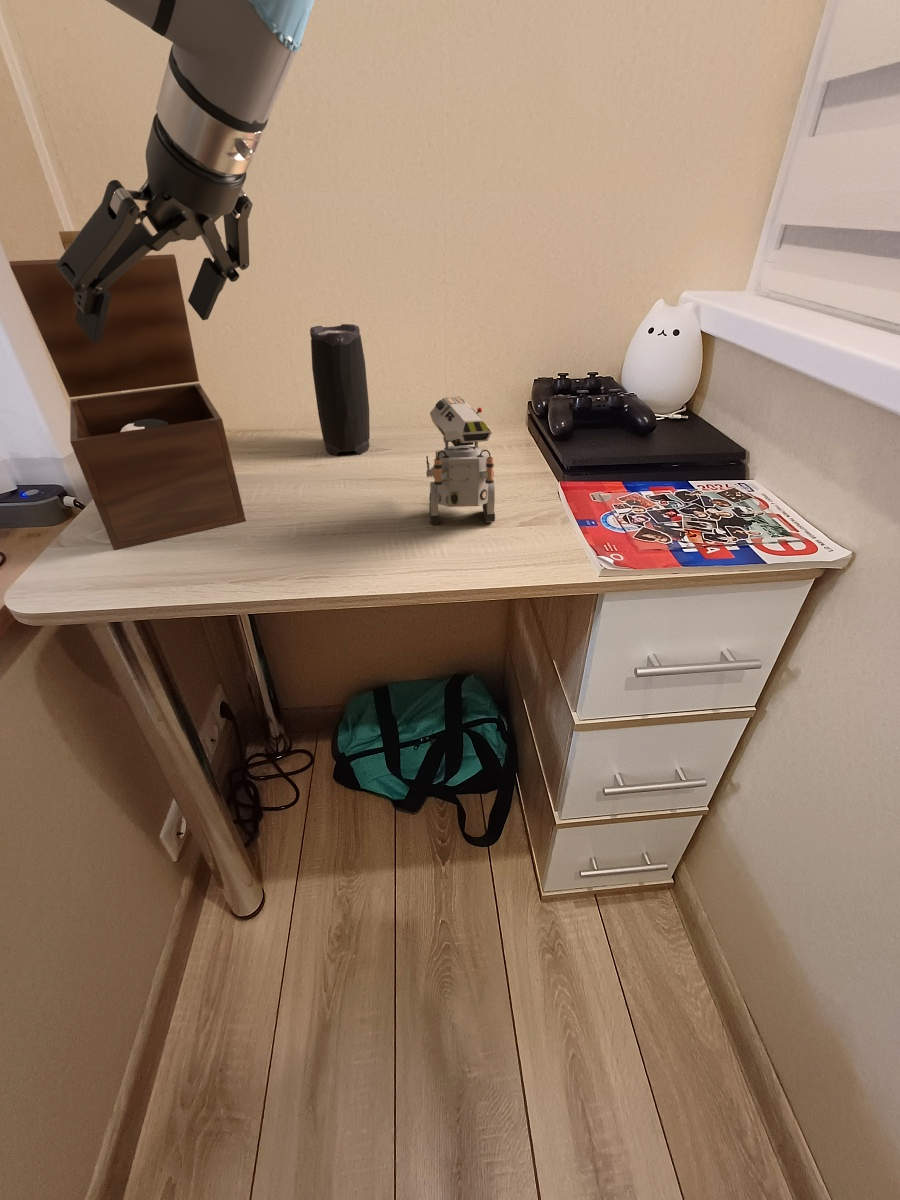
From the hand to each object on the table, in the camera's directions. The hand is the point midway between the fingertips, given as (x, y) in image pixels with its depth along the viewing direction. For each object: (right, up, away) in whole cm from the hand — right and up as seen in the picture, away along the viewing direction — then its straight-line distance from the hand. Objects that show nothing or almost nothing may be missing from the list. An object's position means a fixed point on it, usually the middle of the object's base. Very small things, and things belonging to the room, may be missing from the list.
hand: (146, 320), depth 63 cm
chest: (-6, -18, +19) cm, 27 cm away
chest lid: (-8, +3, +9) cm, 12 cm away
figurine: (+35, -18, +19) cm, 44 cm away
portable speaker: (+15, -4, +38) cm, 41 cm away
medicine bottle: (-6, -18, +18) cm, 26 cm away
